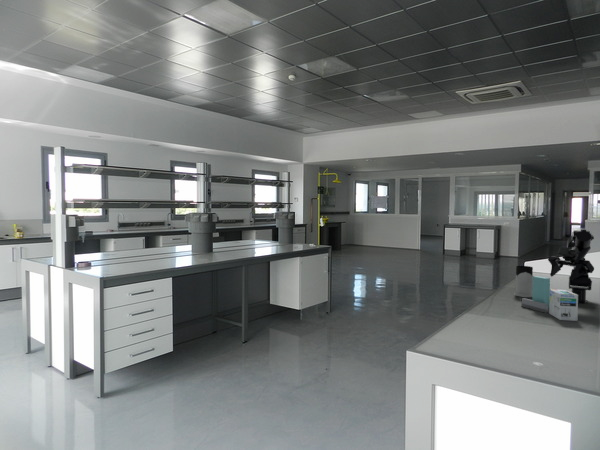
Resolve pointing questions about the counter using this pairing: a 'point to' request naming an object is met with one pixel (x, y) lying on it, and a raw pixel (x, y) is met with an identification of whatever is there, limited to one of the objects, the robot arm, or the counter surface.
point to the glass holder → (524, 281)
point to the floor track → (535, 305)
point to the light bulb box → (563, 305)
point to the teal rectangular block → (541, 289)
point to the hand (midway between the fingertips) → (560, 277)
